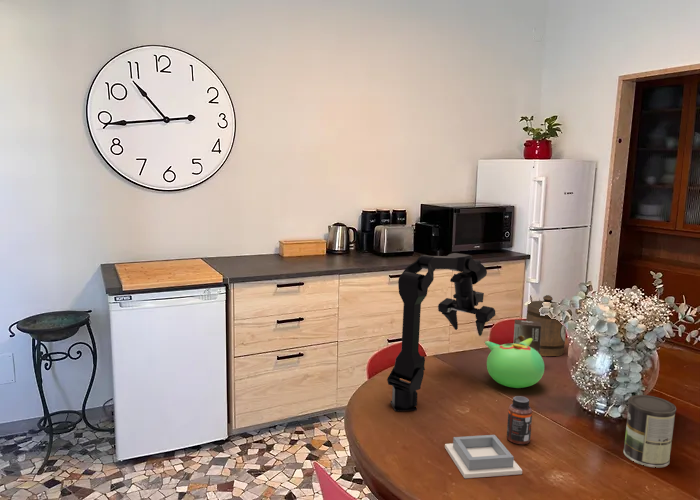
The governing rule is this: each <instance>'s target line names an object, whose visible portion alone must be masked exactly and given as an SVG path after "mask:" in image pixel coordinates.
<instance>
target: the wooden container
mask: <svg viewBox="0 0 700 500" xmlns="http://www.w3.org/2000/svg"><path fill="white" fill-rule="evenodd" d="M530 302H531V303H530V304H528V303H527V307H526V318H525V320H526V321H536V322H540V323H541V340H540V355H541V357H546V356H556V357H559V356H562V355H564V352H565V343H566V329H567V326H566V327H565V326H564V325H562V324H561V323H560V322H559V321H558V320H556V319H551V318H550V317H549V316H548V315H545V316H540V312H539V309H540V308H541V307H543V305H542V303H543V302H550V303H557V302H555V301H554V300H553V297H552V295H550V294H546V295H544V296H543V300H533V301H530Z"/></svg>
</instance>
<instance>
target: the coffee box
mask: <svg viewBox="0 0 700 500" xmlns="http://www.w3.org/2000/svg"><path fill="white" fill-rule="evenodd" d="M529 338H532V339H533V340H532V342H531V344H530V345H529V347H531V348H533V349H535V350H536V351H537V352H538V353H539V354H540V340H541V323H540V322H536V321H526V319H523V320H522V319H514V327H513V343H517V344H518V343H520V342H522V341H524V340H526V339H529Z"/></svg>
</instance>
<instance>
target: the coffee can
mask: <svg viewBox="0 0 700 500" xmlns="http://www.w3.org/2000/svg"><path fill="white" fill-rule="evenodd" d="M627 402H628V407H627V416H626V417H627V418H626V426H625V427H626V428H625V437H624V443H623V444H624V446H623V449H622V450H623V454H624V456H625V457H626V458H627V459H628V460H630V461H632V462H633V461H634V462H633V463H635V464H638V465H641V466H643V465H644V466H643V467H647V468H655V467H656V469H657V468H659V469H661V468H666V467H667V466H668V465H670V461H671V459H670V458H671V451H672V441H673V434H674V427H675V418H676V417H675V416H676V412H677V407H676V405H675V404H674V403H672V402H670V401H669V400H666V399H664V398H661V397H657V396H653V395H648V394H635V395H631V396H630V397H628V401H627Z"/></svg>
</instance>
